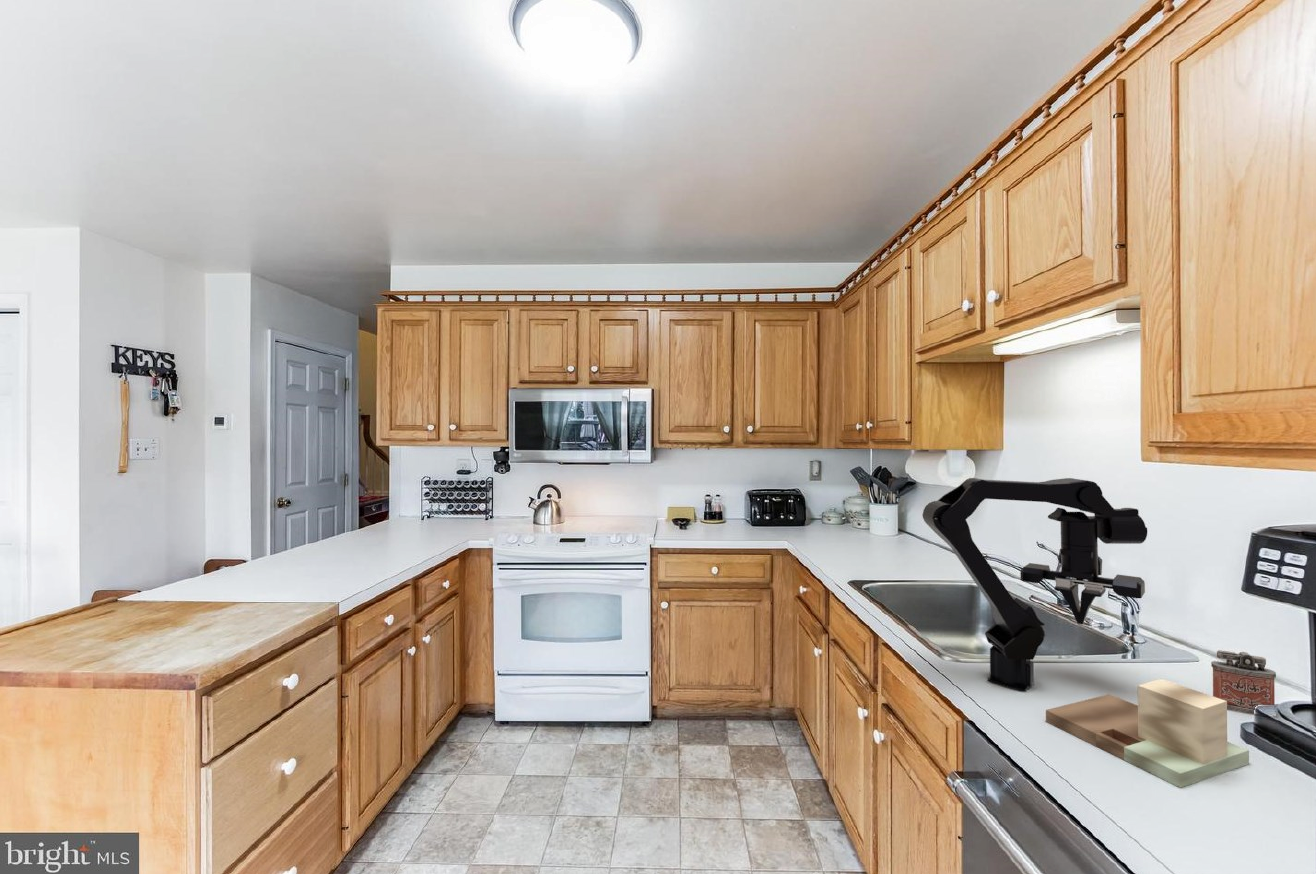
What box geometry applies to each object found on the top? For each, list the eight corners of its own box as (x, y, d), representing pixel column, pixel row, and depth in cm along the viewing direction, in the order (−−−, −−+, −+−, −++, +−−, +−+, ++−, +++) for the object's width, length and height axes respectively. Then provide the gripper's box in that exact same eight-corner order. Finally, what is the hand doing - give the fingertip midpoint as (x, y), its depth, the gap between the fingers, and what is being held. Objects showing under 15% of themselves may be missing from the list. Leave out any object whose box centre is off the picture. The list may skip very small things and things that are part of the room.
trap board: (1045, 721, 96) (1045, 710, 95) (1109, 705, 101) (1109, 694, 101) (1180, 787, 78) (1180, 773, 78) (1249, 763, 83) (1248, 750, 83)
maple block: (1138, 736, 87) (1137, 685, 87) (1161, 728, 89) (1161, 678, 89) (1203, 764, 79) (1203, 709, 79) (1227, 755, 82) (1226, 701, 82)
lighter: (1271, 710, 98) (1270, 654, 98) (1279, 719, 95) (1279, 661, 95) (1208, 700, 102) (1208, 645, 102) (1215, 708, 99) (1214, 652, 99)
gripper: (1147, 543, 107) (1149, 624, 107) (1033, 532, 121) (1035, 604, 121) (1139, 552, 99) (1141, 640, 100) (1018, 540, 113) (1020, 616, 113)
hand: (1080, 623), depth 108 cm, fingers closed
